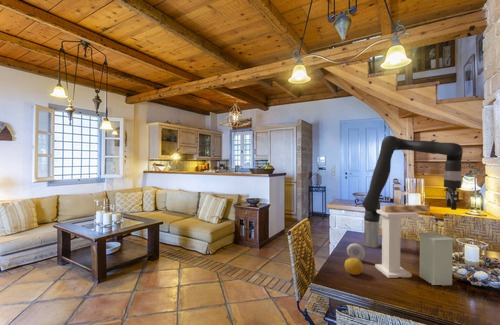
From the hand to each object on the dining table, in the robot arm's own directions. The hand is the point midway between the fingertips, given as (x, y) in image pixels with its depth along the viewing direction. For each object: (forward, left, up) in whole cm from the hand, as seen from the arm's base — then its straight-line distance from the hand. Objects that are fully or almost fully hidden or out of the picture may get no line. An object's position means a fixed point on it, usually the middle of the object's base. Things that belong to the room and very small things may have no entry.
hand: (451, 208), depth 136 cm
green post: (-12, -25, -32) cm, 42 cm away
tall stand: (-28, -23, -32) cm, 48 cm away
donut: (-48, -17, -32) cm, 60 cm away
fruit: (-48, -35, -32) cm, 67 cm away
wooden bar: (-23, -21, 0) cm, 31 cm away
